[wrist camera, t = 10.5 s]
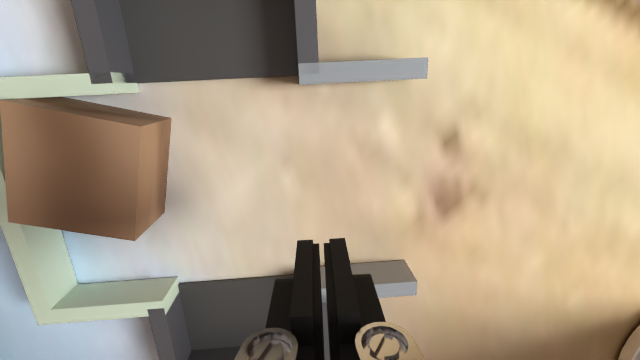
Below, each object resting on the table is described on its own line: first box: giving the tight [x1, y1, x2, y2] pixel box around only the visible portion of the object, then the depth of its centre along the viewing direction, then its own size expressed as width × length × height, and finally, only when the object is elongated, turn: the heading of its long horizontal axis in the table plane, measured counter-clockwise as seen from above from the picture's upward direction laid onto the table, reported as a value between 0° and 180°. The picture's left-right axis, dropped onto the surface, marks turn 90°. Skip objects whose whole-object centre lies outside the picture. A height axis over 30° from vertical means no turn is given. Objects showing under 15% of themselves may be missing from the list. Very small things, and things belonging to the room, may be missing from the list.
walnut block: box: [0, 97, 171, 241], centre depth 17 cm, size 6×6×4 cm
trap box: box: [0, 0, 428, 360], centre depth 19 cm, size 23×26×2 cm
